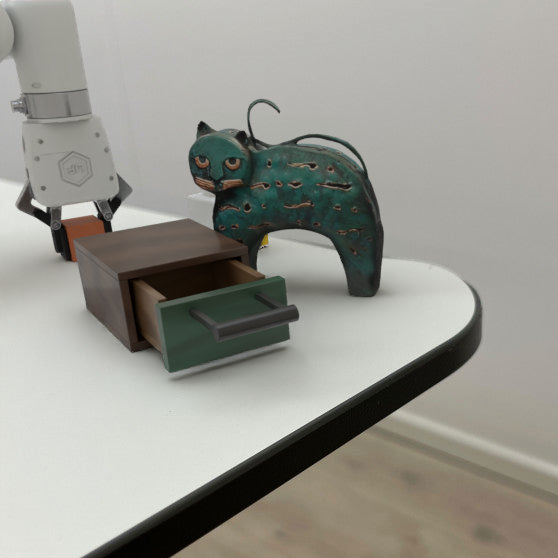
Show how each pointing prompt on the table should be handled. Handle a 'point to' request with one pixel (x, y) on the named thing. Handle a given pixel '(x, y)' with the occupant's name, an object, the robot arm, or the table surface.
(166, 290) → the drawer
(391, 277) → the table surface
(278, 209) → the ceramic cat
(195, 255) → the cabinet
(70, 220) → the block
